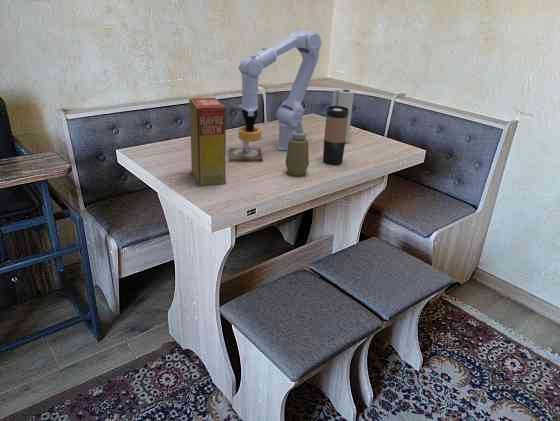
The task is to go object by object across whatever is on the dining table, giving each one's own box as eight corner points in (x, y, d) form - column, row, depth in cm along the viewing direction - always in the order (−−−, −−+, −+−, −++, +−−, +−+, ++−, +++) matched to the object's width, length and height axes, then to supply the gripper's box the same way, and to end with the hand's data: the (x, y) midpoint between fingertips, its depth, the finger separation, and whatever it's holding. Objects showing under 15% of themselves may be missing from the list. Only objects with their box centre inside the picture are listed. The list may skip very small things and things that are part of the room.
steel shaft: (248, 152, 172) (248, 139, 170) (249, 154, 170) (249, 141, 168) (242, 152, 172) (242, 139, 170) (242, 154, 170) (242, 141, 168)
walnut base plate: (260, 150, 178) (260, 147, 177) (262, 161, 167) (262, 158, 166) (229, 150, 176) (229, 147, 176) (229, 161, 166) (229, 158, 165)
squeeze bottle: (300, 179, 154) (304, 127, 145) (280, 173, 157) (282, 122, 149) (312, 172, 160) (316, 121, 152) (292, 167, 163) (295, 117, 155)
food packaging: (227, 183, 148) (226, 106, 136) (198, 186, 145) (195, 108, 133) (217, 169, 159) (216, 96, 148) (190, 171, 156) (186, 97, 144)
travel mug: (344, 160, 172) (350, 107, 163) (340, 167, 166) (346, 112, 157) (325, 157, 174) (329, 104, 165) (319, 163, 168) (324, 109, 159)
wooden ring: (259, 134, 171) (260, 126, 170) (261, 141, 164) (262, 133, 162) (238, 134, 170) (238, 126, 168) (239, 141, 163) (239, 133, 161)
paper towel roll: (350, 141, 193) (356, 90, 183) (344, 145, 188) (350, 92, 179) (335, 138, 196) (340, 87, 186) (328, 141, 191) (333, 90, 182)
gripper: (238, 88, 169) (237, 124, 175) (239, 97, 156) (239, 136, 162) (257, 89, 170) (256, 124, 176) (260, 98, 157) (259, 136, 163)
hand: (249, 130), depth 169 cm, fingers closed on wooden ring
